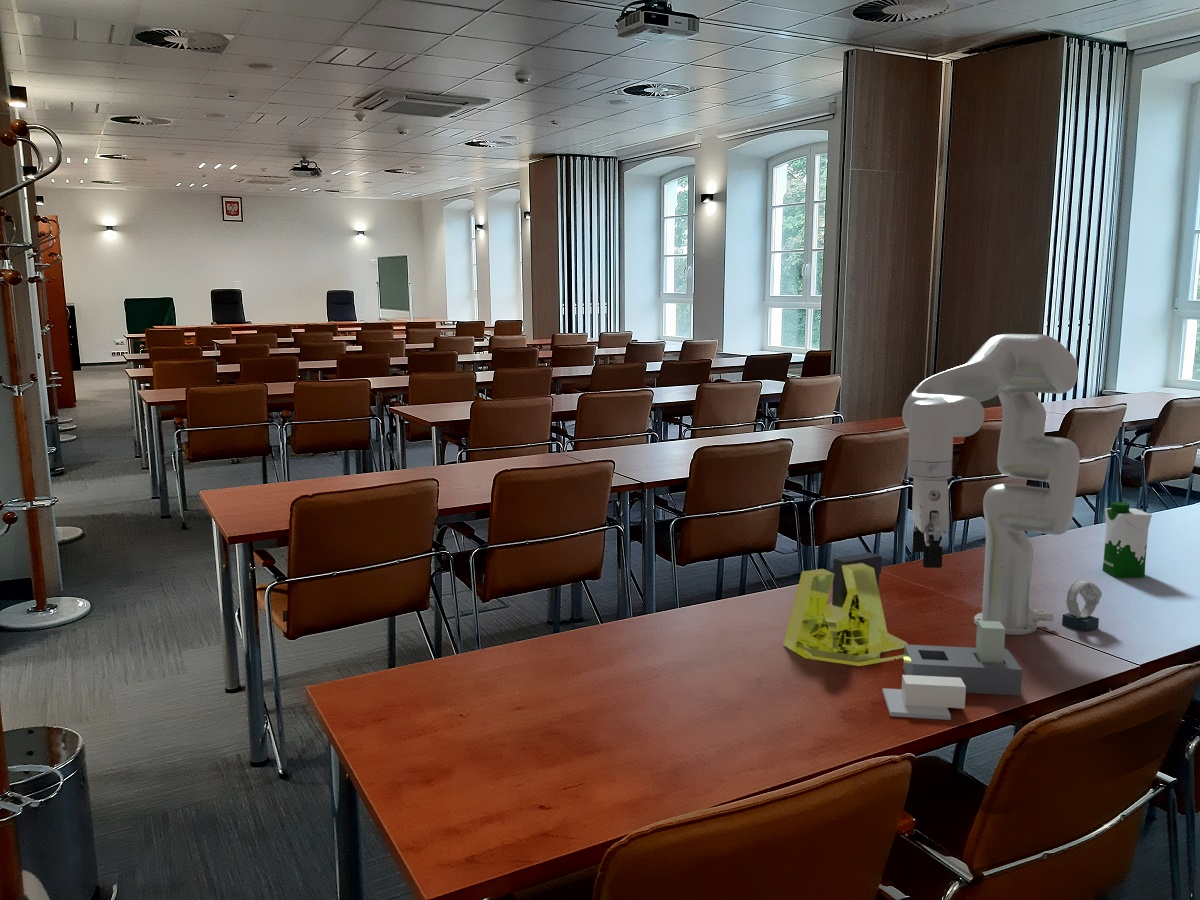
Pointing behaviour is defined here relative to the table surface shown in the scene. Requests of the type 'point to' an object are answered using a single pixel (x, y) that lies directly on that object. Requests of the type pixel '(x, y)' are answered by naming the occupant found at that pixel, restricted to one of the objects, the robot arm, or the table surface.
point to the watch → (1083, 618)
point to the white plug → (933, 691)
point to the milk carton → (1125, 541)
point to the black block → (865, 558)
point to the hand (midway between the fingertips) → (926, 559)
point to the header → (964, 668)
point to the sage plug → (990, 642)
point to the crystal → (840, 619)
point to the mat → (911, 707)
